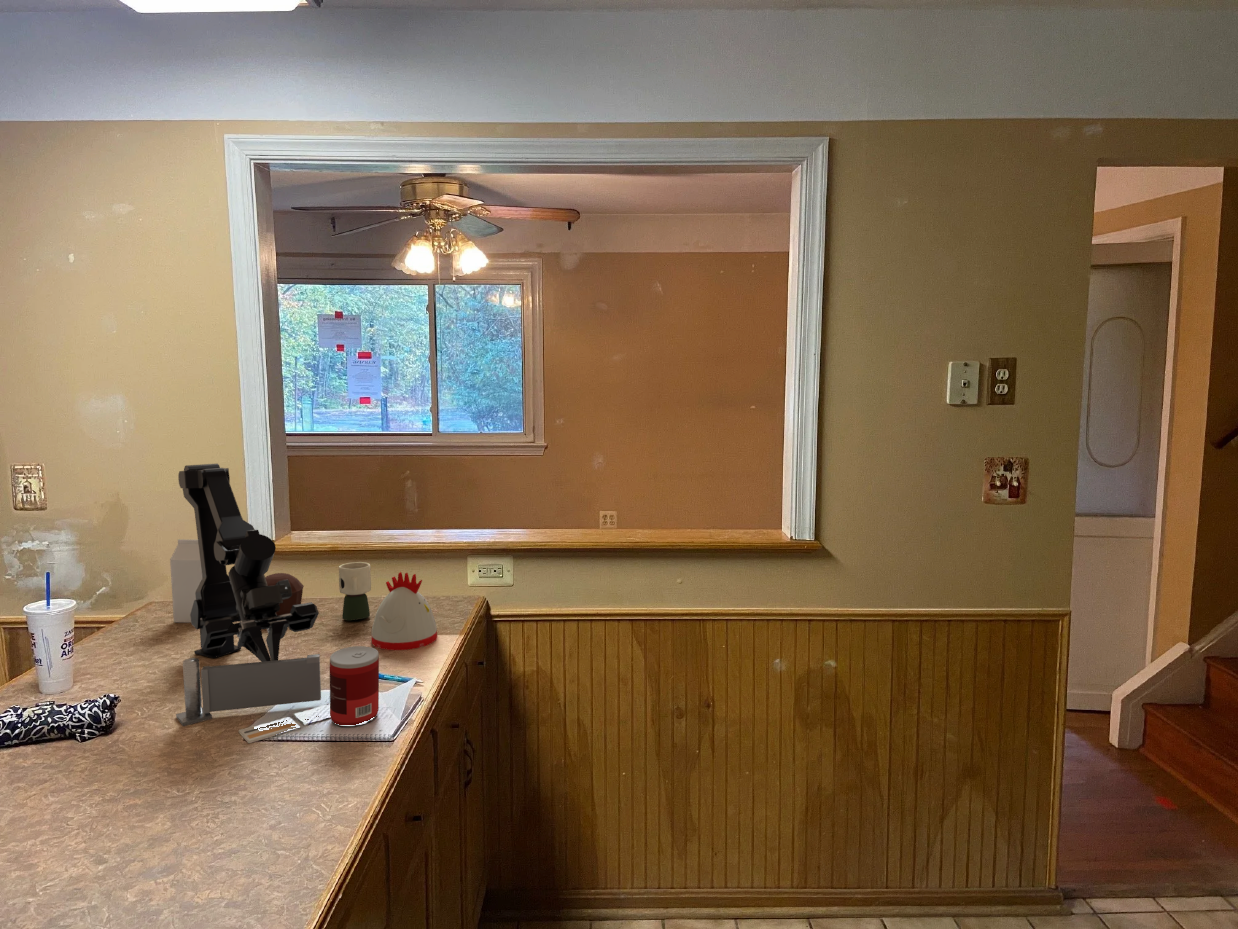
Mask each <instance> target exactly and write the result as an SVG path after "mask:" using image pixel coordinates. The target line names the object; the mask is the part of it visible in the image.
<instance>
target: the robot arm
mask: <svg viewBox="0 0 1238 929" xmlns="http://www.w3.org/2000/svg"><path fill="white" fill-rule="evenodd" d="M183 467H184V468H183V470H181V471H179V472H178V475H177V476H178V485H179V488H180V489H182V494H183V498H184V499H185V500H186V501H187V502H188V503H189V504H190V506H192V508H193V510H194V520H195V526H196V527H195V528H196V534H197V535H196V536H197V540H198V545H199V553H200V561H201V570H202V580H201V582H200V584H199V586H198V588H197V590H196V592H195V595H196V600H194V603H193V607H192V610H191V614H190V616H191V622H190V623H191V625H192V627H194V628H195V629H196V630H199V636H200V637H199V638H200V649H196V650H194V654H196V655H199V656H202V657H206V658H210V659H217V658H219V657H222V656H225V655H228V654H231V653H234V652H238V651H240V650H242V648H244V649H245V650H247V651H249V652H250V653H252V655H254V657H256V658H257V660H259V662H264V661H275V660H279V655H280V645H281V644H280V643H281V640H282V639H283V638H284V637H285V635H286V633H287V630H289V631H291V632H292V633H293V632H294V633H296V632H297V633H298V632H303V631H306V630H307V631H308V630H311V629H312V628H313V627H314V625H315V623H316V620H317V618H318V616H319V614H320V613H319V610H318V606H317V605H316V604H315V603H313V602H305V603H301V604H299V605H293V606H292V609H291V611H290V613H289V614H284V615H278V616H277V615H276V612H278V611H279V610H280V606H279V604H280V603H283V599H288V598H290V597H291V596H292V590H291V586H290V583H289V580H282V581H278V582H277V583H276V585H274V586H270V585H269V586H268V585H267V582H266V579H265V577H266V575H265V574H266V573H268V571H269V569H270V566H271V563H272V561H273V559H274V558H273V557H274V556H275V553H276V544H275V541H273V540H272V539H271V538H270V537H268V536H267V535H264V534H260V531H259V529H255V528H254V525H252V524H251V523H249V522H247V521H245V520H244V518H243V516H242V514H241V511H240V508H239V506H238V503H237V500H236V497H235V494H234V491H233V489H232V486H231V482H230V480H231V479H230V477H231V476H230V471H229V470H230V469H229V467H227V468H226V467H221V466H220V464H219V463H204V464H191V465H190V464H187V465H184V466H183ZM230 565H233V566H232V567H231V568H230V569H229V571H228V572H227V566H230ZM201 618H202V619H201ZM262 630H266V631H267V637H266V638H265V640H264V638H263V633H262ZM235 636H236V638H238V641H237V644H236V645H235ZM265 641H266V642H265ZM266 645H267V646H266Z"/></svg>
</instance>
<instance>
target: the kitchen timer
mask: <svg viewBox="0 0 1238 929" xmlns="http://www.w3.org/2000/svg"><path fill="white" fill-rule="evenodd" d="M416 574H417V573H413V574H412V576H411V577H412V578H411V580H410V576H409V573H408V572H405V573H404V576H403V574H402V572H401V571H400V572H398V574H397V578H396V576H391V581H392V584H391V583H390V582H389V580H388V581H385V584H386V587H387V590H388V593H387V594H386V596H385V597H384V598H383V600H382V601H381V603H380V604H379V606H378V608H377V611H376V612H375V616H374V620H373V623H372V626H371V627H372V628H371V635H370V636H371V644H372V646H374V647H375V648H378V649H381V650H389V651H405V650H407V651H409V650H414V649H419V648H423V647H426V646H428V645H431V644H433V643H434V642H435V641H436V640H437V639H438V628H437V626H438V625H437V623H436V622H437V621H436V619H435V615H434V614H433V611H432V608H431V606H430V604H429V602H428V600H427V599H426V597H425V596H424V595H422V594H421V592H419V590H420V588H421V586H422V582H423V579H420V580H419V581H418V583H417V575H416ZM392 585H393V586H392Z"/></svg>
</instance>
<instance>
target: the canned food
mask: <svg viewBox="0 0 1238 929" xmlns="http://www.w3.org/2000/svg"><path fill="white" fill-rule="evenodd" d="M379 675H380V656H379V651H378V649H376V648H374V647H372V646H366V645H355V646H354V645H353V646H348V647H344V648H339V649H337V650H336V651H333V653H332V654H330V656H329V703H330V716H331V718H330V719H331V721H332V723H333V722H334V723H333V724H335V723H336V724H339V725H356V724H359V723H362V722H364V721H368V720H370V719H371V718H373V717H375V716H376V715H378V713H379V710H380V709H379V707H380V706H379V705H380V704H379V699H380V696H379V694H380V692H379V691H380V685H379V683H380V682H379V680H380V678H379V677H380V676H379ZM376 717H377V716H376ZM376 717H375V718H376ZM336 724H335V725H336ZM339 725H338V726H339Z"/></svg>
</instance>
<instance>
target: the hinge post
mask: <svg viewBox="0 0 1238 929" xmlns="http://www.w3.org/2000/svg"><path fill="white" fill-rule="evenodd" d="M182 670H183V671H182V674H183V675H182V676H183V687H184V688H183V690H184V704H185V705H184V706H185V711H182V712H179V713H176V714H175V718H176V719H177V721H179V723H180V725H181V726H182V727H185V726H188V725H193V724H196V723H200V722H204V721H208V720H212V719H213V714H212V712H210V713H203V701H202V683H201V668H200V658H197V657H192V658H187V659H184V660H183V661H182Z"/></svg>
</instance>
